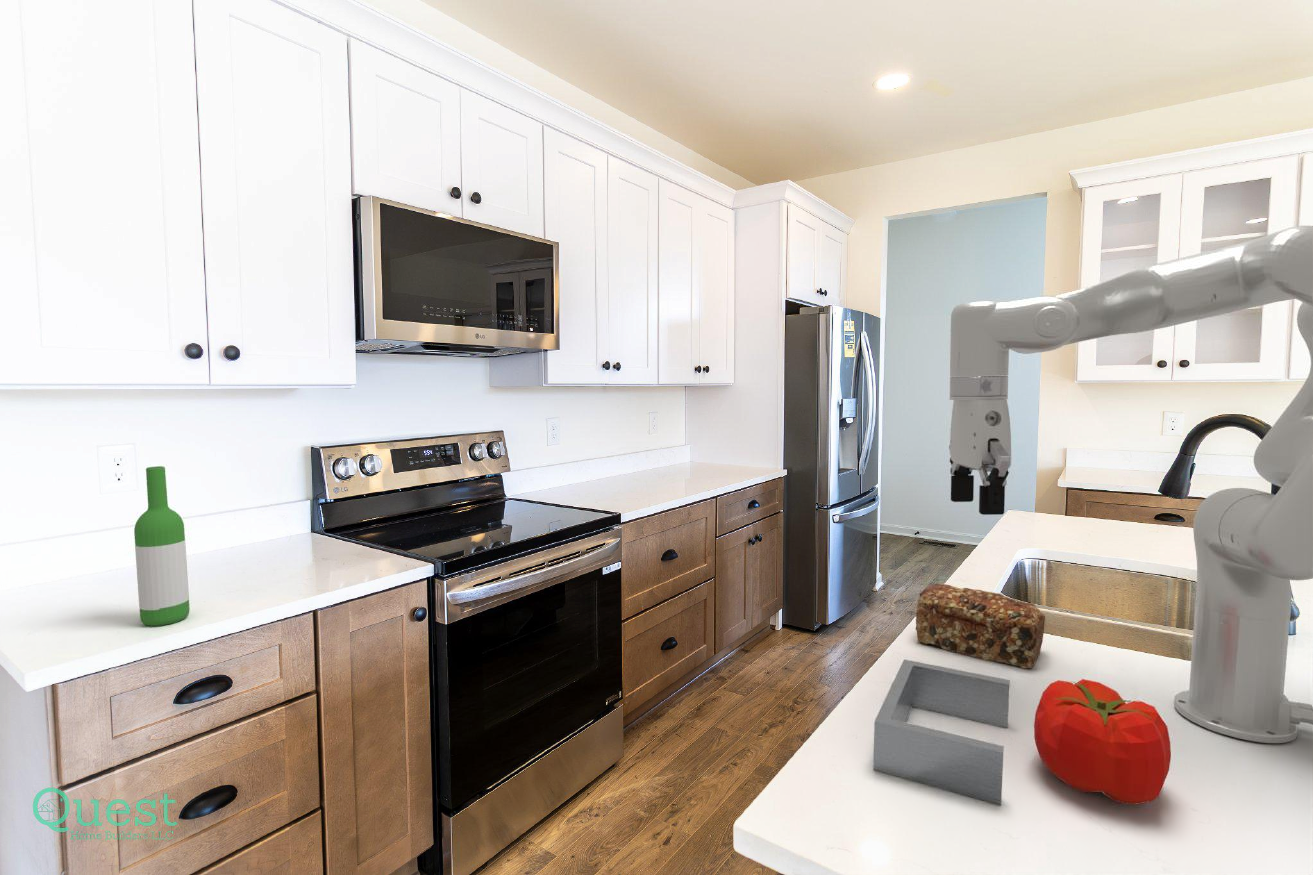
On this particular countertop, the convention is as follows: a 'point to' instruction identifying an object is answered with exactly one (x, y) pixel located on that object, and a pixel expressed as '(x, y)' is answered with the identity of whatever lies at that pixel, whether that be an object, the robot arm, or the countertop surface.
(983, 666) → the countertop surface
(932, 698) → the grey u-shaped bracket
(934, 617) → the bread
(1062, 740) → the tomato
